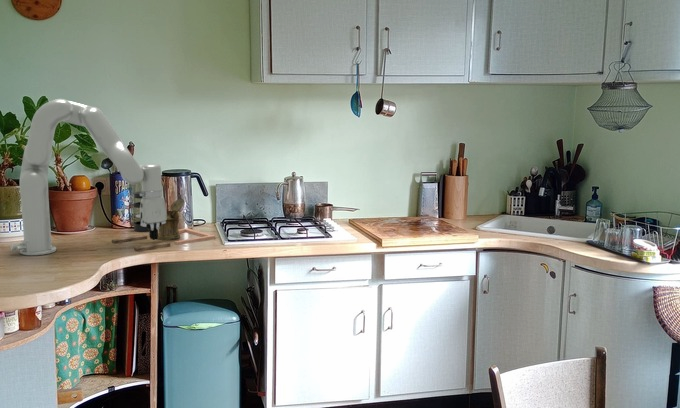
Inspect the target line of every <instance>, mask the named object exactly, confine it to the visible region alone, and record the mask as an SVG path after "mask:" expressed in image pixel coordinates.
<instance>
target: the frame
mask: <svg viewBox="0 0 680 408" xmlns="http://www.w3.org/2000/svg"><path fill="white" fill-rule="evenodd" d="M178 230H179V233H180V234H183V233H187V234H191V235H195V236H197V237H194V238H187V239H180V240H175V241H174V240H173V241H174V245H176V246H179V245H185V244H192V243H196V242H197V243H198V242H203V241H208V240H209V241H210V240H216V235H214V234H209V233H206V232H202V231H198V230H194V229H191V228H187V227H186V228H181V229H179V228H178Z"/></svg>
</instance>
